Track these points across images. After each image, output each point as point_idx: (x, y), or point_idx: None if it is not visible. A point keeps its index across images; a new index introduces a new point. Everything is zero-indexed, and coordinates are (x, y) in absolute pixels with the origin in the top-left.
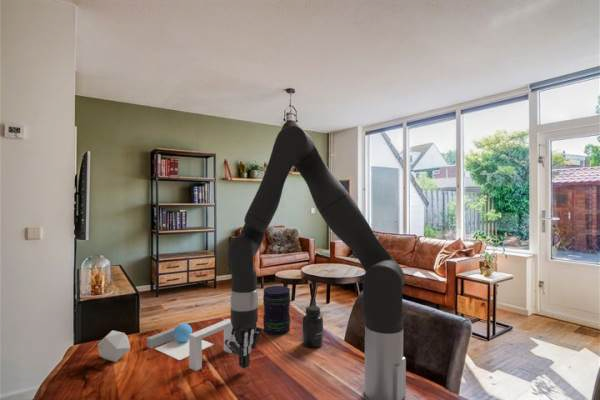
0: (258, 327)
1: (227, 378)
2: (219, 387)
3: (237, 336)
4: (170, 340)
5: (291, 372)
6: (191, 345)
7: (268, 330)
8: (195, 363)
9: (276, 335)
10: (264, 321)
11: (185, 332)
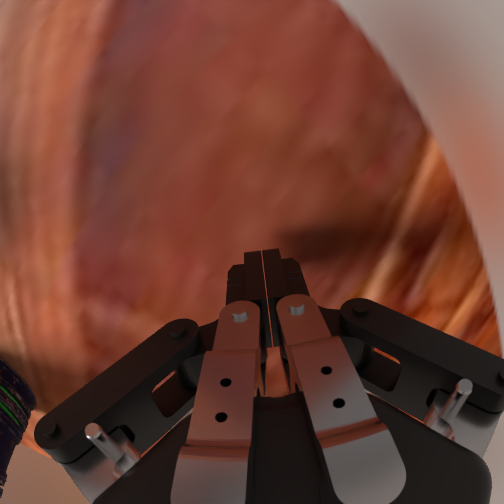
0: (64, 467)
1: (358, 266)
2: (427, 232)
3: (465, 453)
4: None
5: (71, 63)
6: None
7: (20, 394)
8: (384, 400)
9: (4, 361)
10: (22, 427)
11: None
